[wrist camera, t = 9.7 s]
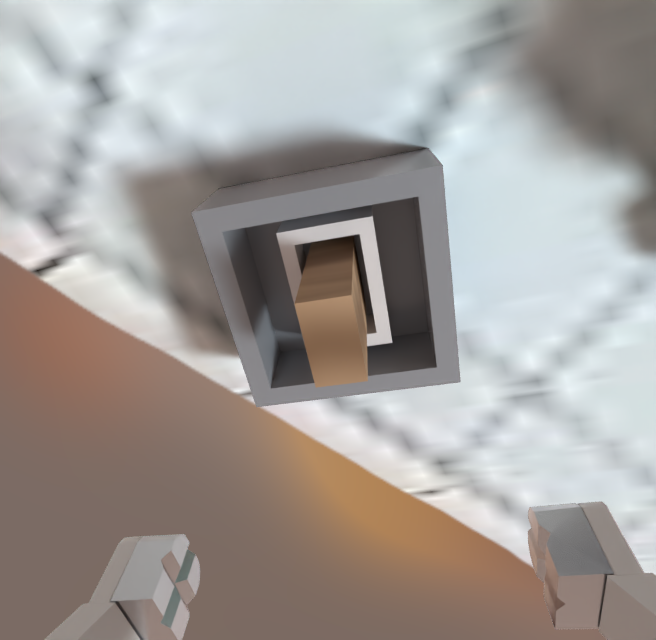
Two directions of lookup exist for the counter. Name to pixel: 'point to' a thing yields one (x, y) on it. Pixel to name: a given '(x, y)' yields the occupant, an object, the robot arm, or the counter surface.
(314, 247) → the tan wooden brick
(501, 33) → the counter surface
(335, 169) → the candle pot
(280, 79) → the counter surface
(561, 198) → the counter surface
